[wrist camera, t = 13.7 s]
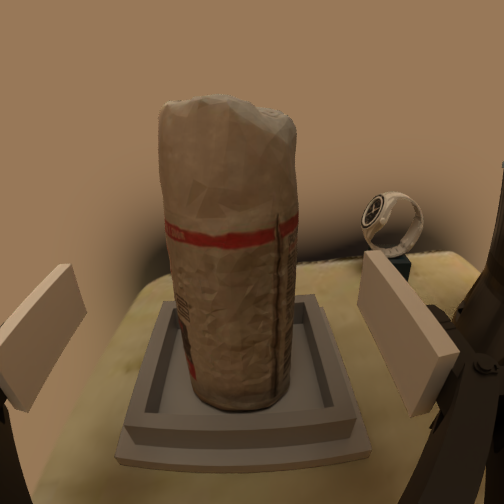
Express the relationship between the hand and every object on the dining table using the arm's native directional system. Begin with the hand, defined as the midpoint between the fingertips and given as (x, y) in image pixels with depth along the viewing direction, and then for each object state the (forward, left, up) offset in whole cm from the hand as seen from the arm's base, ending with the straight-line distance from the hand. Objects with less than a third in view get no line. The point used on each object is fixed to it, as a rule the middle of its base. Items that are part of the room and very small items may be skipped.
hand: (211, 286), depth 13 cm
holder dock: (0, -6, -13) cm, 15 cm away
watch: (-19, -22, -13) cm, 32 cm away
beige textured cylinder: (0, -6, -12) cm, 14 cm away
